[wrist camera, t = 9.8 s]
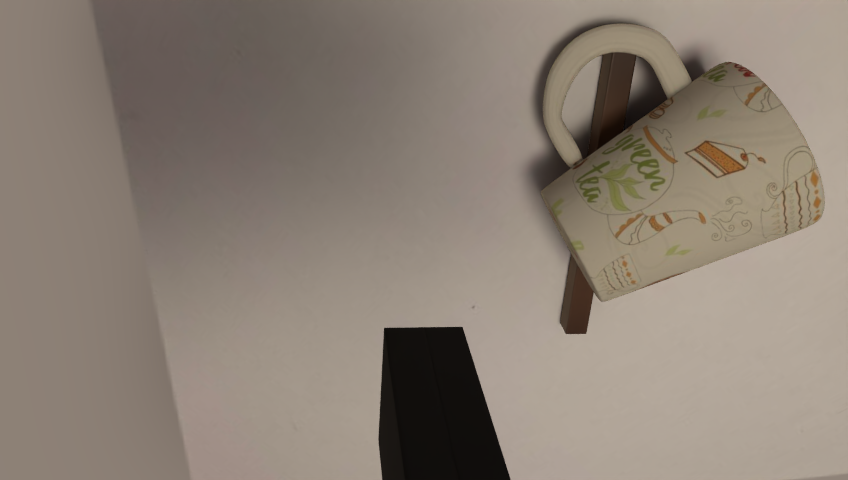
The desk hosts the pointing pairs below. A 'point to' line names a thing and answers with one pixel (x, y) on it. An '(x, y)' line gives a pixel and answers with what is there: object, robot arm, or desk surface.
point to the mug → (676, 170)
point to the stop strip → (604, 129)
